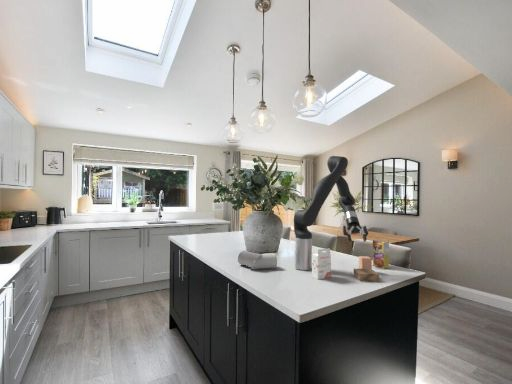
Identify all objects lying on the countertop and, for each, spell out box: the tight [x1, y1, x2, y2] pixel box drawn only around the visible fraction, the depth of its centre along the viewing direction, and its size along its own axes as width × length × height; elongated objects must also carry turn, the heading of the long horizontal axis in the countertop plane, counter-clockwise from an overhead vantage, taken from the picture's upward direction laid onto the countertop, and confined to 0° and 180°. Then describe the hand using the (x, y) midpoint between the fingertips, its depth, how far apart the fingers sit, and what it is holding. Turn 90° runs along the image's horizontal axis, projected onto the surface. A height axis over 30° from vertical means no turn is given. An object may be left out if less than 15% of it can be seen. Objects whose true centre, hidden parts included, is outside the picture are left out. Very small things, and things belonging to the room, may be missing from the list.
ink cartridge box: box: [311, 248, 332, 280], centre depth 133 cm, size 9×5×15 cm, turn 117°
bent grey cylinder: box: [237, 250, 278, 270], centre depth 151 cm, size 18×11×20 cm
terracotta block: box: [358, 255, 373, 270], centre depth 143 cm, size 5×5×8 cm
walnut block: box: [353, 268, 380, 283], centre depth 131 cm, size 9×9×4 cm
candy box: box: [372, 239, 390, 270], centre depth 154 cm, size 9×4×15 cm, turn 17°
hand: (357, 240), depth 156 cm, fingers open, 8 cm apart
